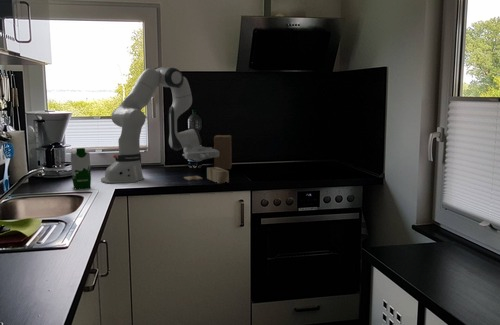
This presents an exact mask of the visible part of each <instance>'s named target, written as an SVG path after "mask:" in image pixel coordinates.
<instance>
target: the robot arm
mask: <svg viewBox="0 0 500 325" xmlns="http://www.w3.org/2000/svg"><path fill="white" fill-rule="evenodd" d="M158 87H162V88H163V87H164V88H170V90H171V94H172V97H171V98H172V104H171V106H170V107H169V110H168V131H169V132H168V145H169V147H170V149H172V150H174V151H180V150H182V149H183V151H182V152H183V153H182V154H181V155H182V157H184V159H186V160H193V161H196V162H201V161H204V160H209V159H213V158H214V157H219V151H218V150H216V149H214V148H213V147H211V146H201V145H202V137H201V134H200V133H199V132H198V131H197V130H196V129H195V128H190V129H186V130H184V131H180V132H178V119H179V117H180V116H181V115H183V113H185V112H186V111H188V110H189V109H190V108H191V106H192V104H193V96H192V91H191V90H192V89H191V88H190V84H189V81H188V79H187V78H186V77H185V76H183V73H182V72H181V70H179V69H178V68H175V67H169V66H158V67H155V68H150V67H149V68H146V69H144V70H143V71H142V72H141V74H140V75H139V77H138V78H137V80H136V81H135V83H134V85H133V86H132V88H131V90H130V92H129V93H128V95H127V96H125V98H124V100H122V102H121V103H120V104H119V105H118V107H117V108H115V109H114V110H113V111H112V112H111V115H110V116H111V121H112V123H114V124H115V125H116V126H118V127H120V128H121V133H120V136H119V138H118V142H117V143H118V154H116V153H114V154H113V155H112V157H113V158H114V159H115V161H114V162H113V163H111V164H110V165H108V167H106V170H105V173H104V177H101V179H100V181H101V182H102V183H103V184H118V183H119V184H120V183H121V184H123V183H137V182H138V181H141V180H144V175H143V169H142V164H141V163H142V155H141V152H140V151H141V150H140V149H141V148H140V146H141V144H140V139H141V133H142V129H143V128H142V127H143V126H144V125H145V123H146V114H145V113H144V112H143V111H142V110H143V109H144V108H145V107H147V105H149V102H150V101H151V99H152V97H153V96H154V94H155V92H156V90H157V88H158Z"/></svg>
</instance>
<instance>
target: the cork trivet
mask: <svg viewBox="0 0 500 325" xmlns="http://www.w3.org/2000/svg"><path fill="white" fill-rule="evenodd" d="M183 179H185V180H187V181H196V180H203V177H201V176H199V175H191V176H190V175H189V176H183Z"/></svg>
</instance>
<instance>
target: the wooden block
mask: <svg viewBox="0 0 500 325" xmlns="http://www.w3.org/2000/svg"><path fill="white" fill-rule="evenodd" d="M232 144H233V143H232V135H230V134H227V135H225V134H224V135H223V134H222V135H221V134H217V135H215V136H214V137H213V145H214V146H213V147H214V148H213V149H216V150H218V151H219V157H214V162H213V164H214V166H213V167H218V168H221V169H224V170H231V169H232V167H233V166H232V165H233V164H232V160H233V159H232V154H233V153H232V149H233V148H232Z"/></svg>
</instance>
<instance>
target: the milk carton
mask: <svg viewBox="0 0 500 325" xmlns="http://www.w3.org/2000/svg"><path fill="white" fill-rule="evenodd" d="M90 154H91V153H90V152H89V151H86V148H84V147H81V148H80V147H79V148H77V147H76V151H71V152H70V167H71V179H72V185H73V188H74V189H75V190H86V189H91V187H92V186H91V185H92V184H91V183H92V172H91V171H92V170H91V157H90V156H91V155H90Z"/></svg>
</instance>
